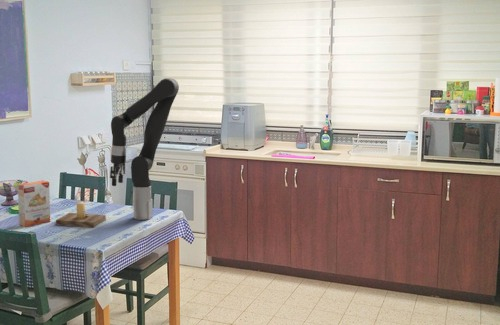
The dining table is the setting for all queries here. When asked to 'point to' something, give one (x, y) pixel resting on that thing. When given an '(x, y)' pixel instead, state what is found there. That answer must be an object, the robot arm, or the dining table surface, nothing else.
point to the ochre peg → (80, 210)
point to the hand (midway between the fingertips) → (117, 184)
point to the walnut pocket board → (81, 220)
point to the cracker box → (34, 203)
